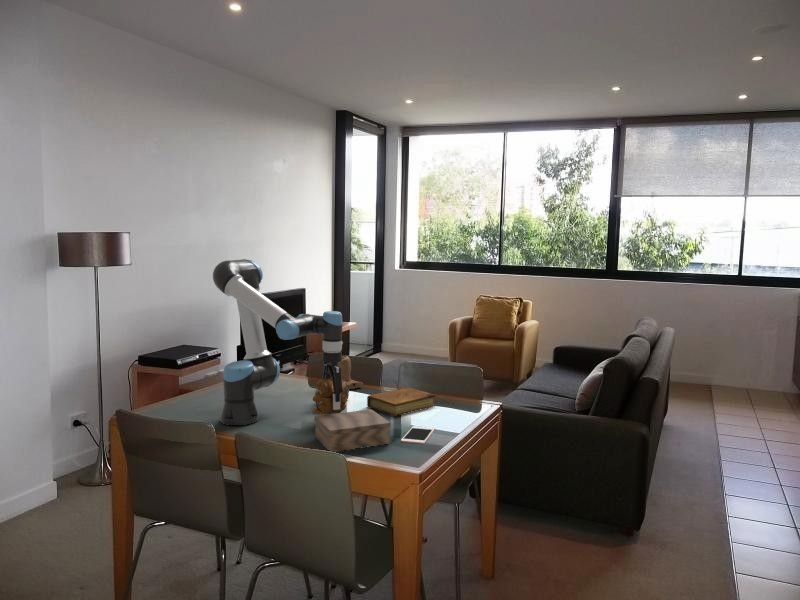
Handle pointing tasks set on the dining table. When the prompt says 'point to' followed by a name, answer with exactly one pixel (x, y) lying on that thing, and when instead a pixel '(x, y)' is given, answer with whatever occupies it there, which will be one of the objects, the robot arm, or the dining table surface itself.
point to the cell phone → (418, 435)
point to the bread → (344, 387)
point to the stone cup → (348, 373)
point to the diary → (400, 401)
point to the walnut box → (352, 430)
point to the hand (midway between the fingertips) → (331, 405)
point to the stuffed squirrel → (327, 398)
